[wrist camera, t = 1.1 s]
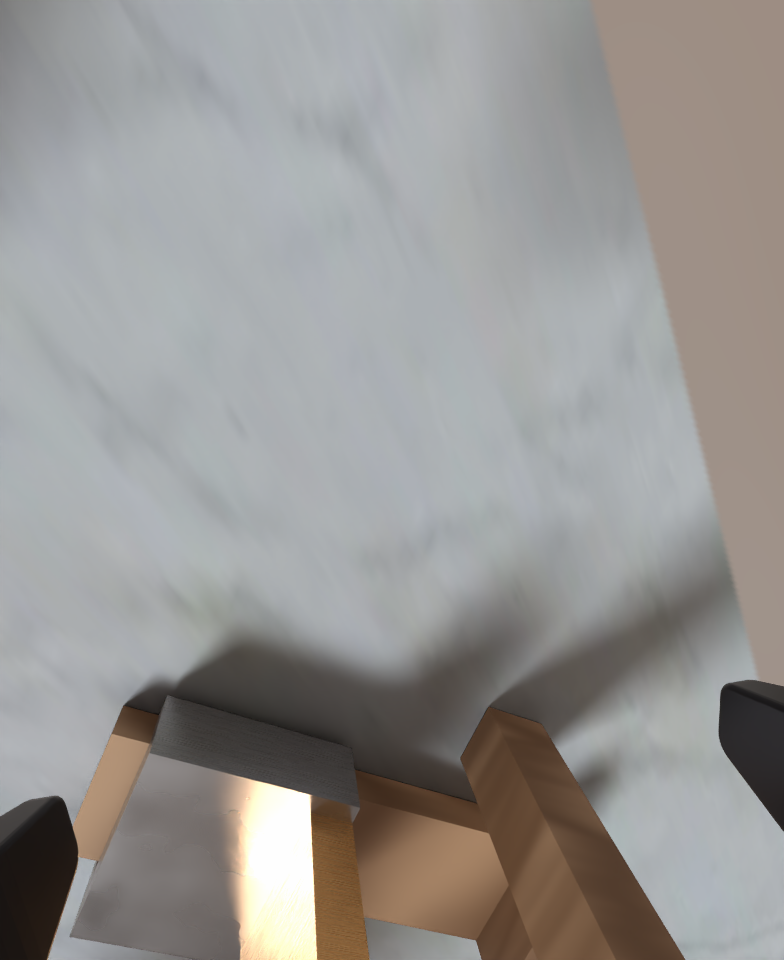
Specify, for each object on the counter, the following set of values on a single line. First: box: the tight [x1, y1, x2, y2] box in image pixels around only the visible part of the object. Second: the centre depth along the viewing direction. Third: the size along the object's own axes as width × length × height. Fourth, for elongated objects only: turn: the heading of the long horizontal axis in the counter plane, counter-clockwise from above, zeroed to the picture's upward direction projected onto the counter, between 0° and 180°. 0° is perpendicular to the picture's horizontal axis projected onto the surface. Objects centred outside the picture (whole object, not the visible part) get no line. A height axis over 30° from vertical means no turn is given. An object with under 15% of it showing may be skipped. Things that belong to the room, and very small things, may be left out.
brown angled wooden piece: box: [73, 705, 685, 960], centre depth 18 cm, size 18×9×12 cm, turn 64°
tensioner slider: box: [70, 695, 369, 960], centre depth 18 cm, size 7×7×10 cm
